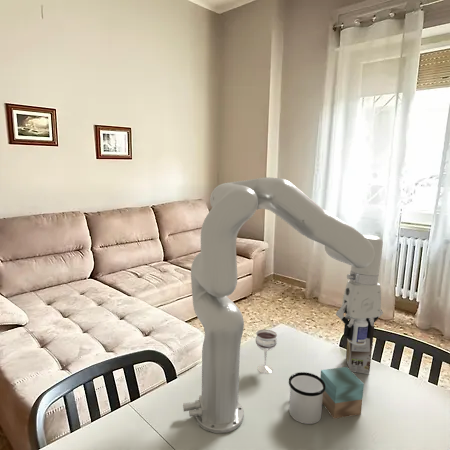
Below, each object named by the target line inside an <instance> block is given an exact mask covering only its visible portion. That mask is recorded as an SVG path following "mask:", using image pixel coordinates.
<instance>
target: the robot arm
mask: <svg viewBox="0 0 450 450" xmlns="http://www.w3.org/2000/svg"><path fill="white" fill-rule="evenodd" d="M209 202H210V203H209V204H210V207H211V208H210V210H209V211H208V214H206V216H205V218H204V220H203V222H202V225H201V230H200V252H198V254H197V255H196V256H195V257H194V259H193V260H192V263H191V267H190V268H191V269H190V279H191V280H190V282H191V283H190V284H191V295H192V306H193V310H194V313H195V316H196V317H197V319H198V320H199V322H200V324H201V325H202V327H203V329H204V338H203V343H202V349H201V395H199V396H198V399H196V400H194V401H193V402H183V403H182V404H183V405H182V408H183V409H182V411H183V412H188V413H189V414H188V415H189V417H195V421H196V423H197V424H198V425H199V427H201V428H202V429H204V430H206V431H208V432H210V433H215V434H224V433H225V434H226V433H229V432H232V431H234V430H236V429H238V428H239V427H240V426H241V425H242V423H243V421H244V416H245V415H244V414H245V412H244V407H242V405H241V404H240V403H239V389H240V388H239V387H240V385H239V384H240V356H241V354H240V353H241V343H242V342H241V341H242V339H243V338H242V337H243V333H244V330H245V329H244V328H245V327H244V326H245V320H244V317H243V313H242V312H241V310H240V308H239V307H238V306H237V305H236V303H235V302H234V301H233V300H232V299H230V298H229V296H231V295H232V294H233V292H235V290H236V288H237V285H238V279H239V278H238V261H237V260H238V259H237V239H238V235H239V232H240V230H241V228H242V226H244V224H245V223H246V222H248V221H249V220H250V219H251V218H252V217H253V216H254V215H255V213H256V211H257V210H262V209H263V210H267V211H270V212H272V213H273V214H275V215H276V216H277V217H278V218H280V219H281V220H283V221H284V222H285V223H286V224H288V225H289V226H290V227H292V228H293V229H294V230H295V231H297V233H299V234H300V235H302V236H304V237H305V238H308V239H310V240H312V241H313V242H316V243H319V244H320V245H323V246H324V251H325V252H326V254H327V255H328V257H330V258H332V259H334V260H336V261H339V262H341V263H344V264H347V265H349V266H350V273H349V274H347V275H346V278H347V279H348V281H347V283H346V286H345V289H344V292H343V297H342V304H341V306H340V308H339V309H338V310H337V311H336V312H335V315H336V316H337V317H338V319H340V320H341V321H342V323H343V324H344V329H343V336H344V337H345V338H348V339H349V340H352V336H353V327H352V324H353V322H354V319H364V318H366V321H367V322H368V331H367V338H368V339H370V336H371V329H372V326H373V325H374V326H375V322H376V321H377V320H379V318H380V317H382V315H383V314H384V311H383V310H382V289H381V284H380V283H379V276H380V269H381V259H382V253H383V245H384V242H383V239H382V238H381V237H379V236H377V235H372V234H361V232H359V231H358V230H357V229H355V228H354V227H352V226H351V225H349V223H346V222H345V221H343V220H342V219H340V218H338V217H336V216H335V215H334V214H332V213H331V212H329V211H327V210H326V209H324V208H323V207H321V206H320V205H319V204H317V203H316V202H315V201H314V200H313V199H311V198H310V197H309V196H308V195H307V194H306V193H305V192H303V191H302V190H301V189H300V188H299V187H297V186H296V185H295V184H293V183H292V182H291V181H289V180H287V179H285V178H281V177H280V178H279V177H267V176H266V177H258V178H254V179H246V180H245V179H244V180H237V181H231V182H225V183H221V184H218V185H217V186H216V187H214V189H213V190H212V191H211V194H210V199H209ZM344 314H345V315H344ZM349 317H350V319H349Z"/></svg>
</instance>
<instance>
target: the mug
mask: <svg viewBox="0 0 450 450" xmlns="http://www.w3.org/2000/svg"><path fill="white" fill-rule="evenodd" d="M320 377H321V376H318V375H316V374H314V373H311V372H307V371H306V372H304V371H303V372H301V371H300V372H295V373H293V374H291V375H290V376H289V378H288V385H289V389H290V390H289V403H288V405H289V406H288V413H289V415H290V416H291V417H292V418H293V420H295V421H297V422H298V423H302V424H305V425H312V424H316V423H318V422H320V420H321V418H322V412H323V411H322V408H323V404H322V399H323V392H324V391H325V389H326V386H325V383H324V381H323V380H322V379H321V378H320Z"/></svg>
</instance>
